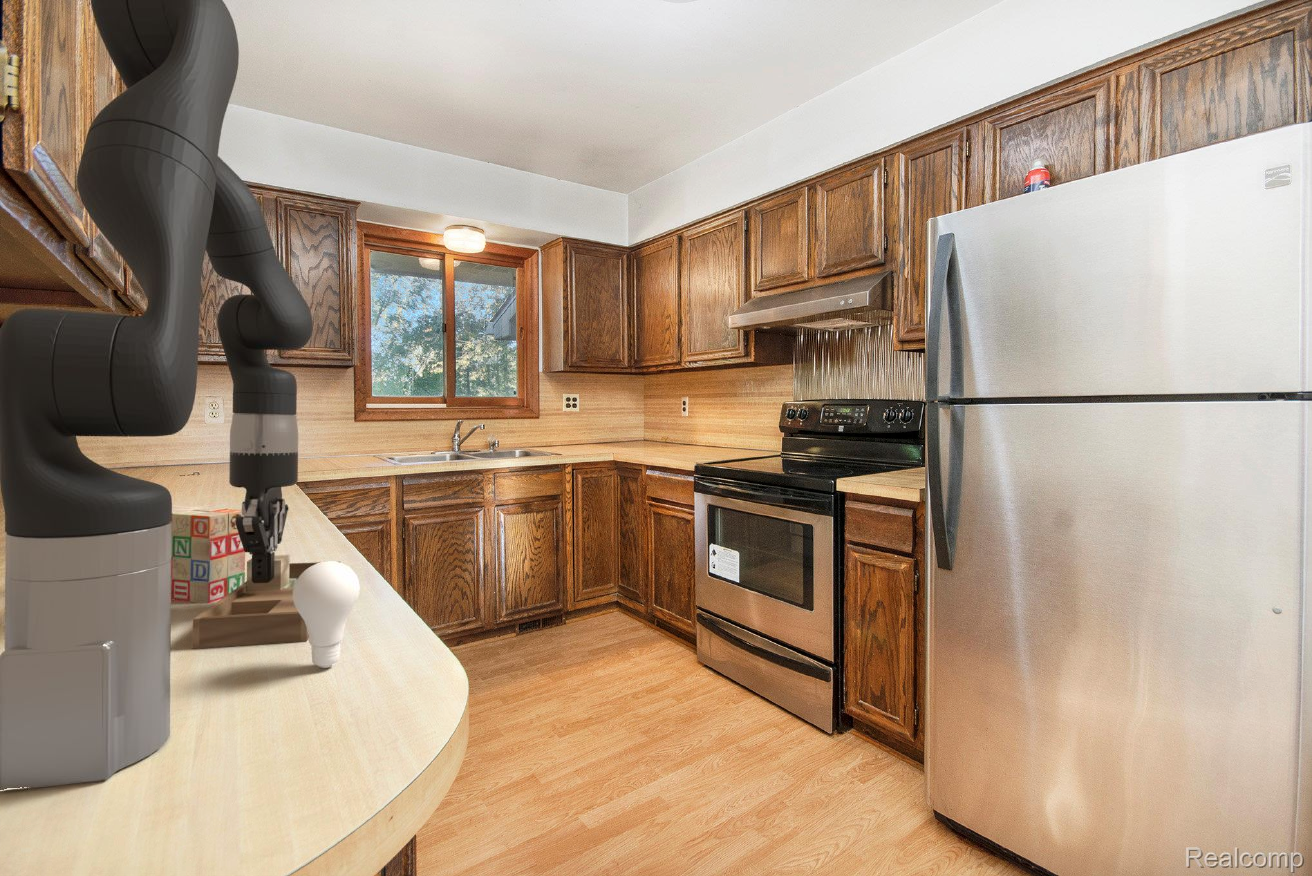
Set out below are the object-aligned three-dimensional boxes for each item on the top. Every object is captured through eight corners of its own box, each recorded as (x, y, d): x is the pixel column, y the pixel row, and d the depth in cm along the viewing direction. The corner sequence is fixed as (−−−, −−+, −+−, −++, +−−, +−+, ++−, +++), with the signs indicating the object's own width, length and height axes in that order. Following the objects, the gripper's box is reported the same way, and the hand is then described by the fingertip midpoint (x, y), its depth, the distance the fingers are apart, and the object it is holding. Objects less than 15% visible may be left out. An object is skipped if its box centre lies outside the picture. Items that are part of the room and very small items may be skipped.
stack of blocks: (79, 593, 88) (79, 507, 87) (123, 582, 94) (124, 501, 94) (209, 604, 84) (210, 514, 84) (246, 592, 90) (247, 508, 90)
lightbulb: (283, 682, 60) (284, 570, 60) (301, 658, 66) (302, 556, 66) (351, 676, 62) (353, 567, 61) (363, 654, 68) (365, 554, 67)
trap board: (306, 641, 71) (307, 602, 71) (192, 649, 68) (193, 608, 68) (344, 591, 91) (344, 561, 91) (258, 595, 88) (258, 564, 88)
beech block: (280, 590, 83) (281, 560, 83) (246, 591, 82) (246, 561, 82) (289, 583, 87) (289, 554, 87) (256, 584, 85) (257, 555, 85)
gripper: (282, 452, 75) (280, 594, 75) (310, 447, 87) (308, 568, 88) (210, 451, 73) (208, 597, 73) (249, 446, 85) (248, 570, 86)
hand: (263, 581), depth 80 cm, fingers closed
